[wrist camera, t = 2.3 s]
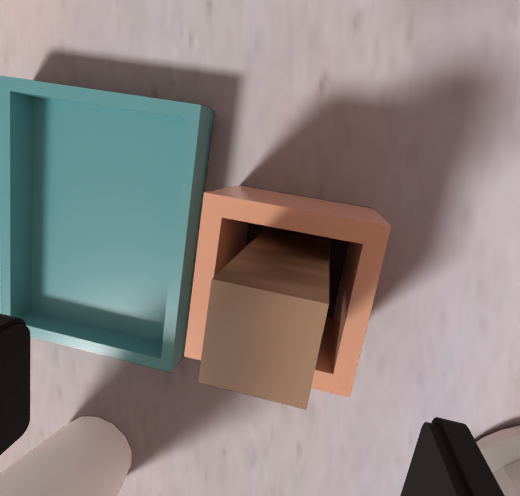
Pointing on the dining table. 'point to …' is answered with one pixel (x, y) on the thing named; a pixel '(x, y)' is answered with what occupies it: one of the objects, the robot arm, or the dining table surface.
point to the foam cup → (72, 463)
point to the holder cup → (305, 221)
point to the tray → (101, 217)
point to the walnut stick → (268, 317)
